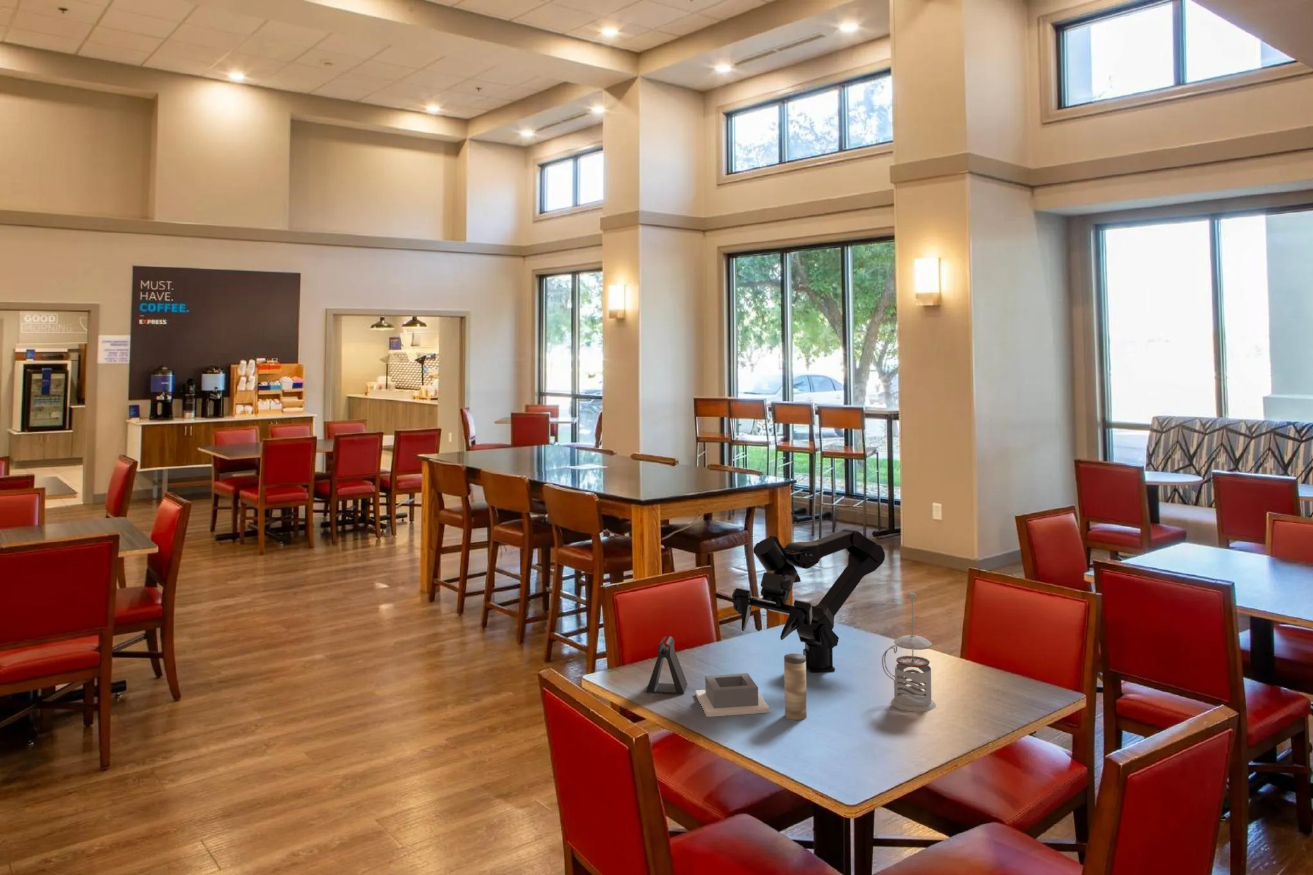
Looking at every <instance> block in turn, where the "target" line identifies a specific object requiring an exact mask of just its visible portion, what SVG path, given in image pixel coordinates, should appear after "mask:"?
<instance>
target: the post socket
mask: <svg viewBox="0 0 1313 875" xmlns="http://www.w3.org/2000/svg"><path fill="white" fill-rule="evenodd" d="M704 682H705V689H699V690H698V689H697V690H695V692H694V693H695V696H696V699H697V700H698V703H699V704H701V705H700V706H702V707H701V708H703V709H702V710H704V711H703V712H704V715H705V716H706V718H713V717H727V716H738V715H754V714H768V713H770V711H771V709H770V708H771V707H770V706H769V705H768V704H767V703H766V701H765V700H764V698H763V697H762V695H761V694H760V693H759V687H758V685H757V684H756V683H755V680H753V679H752V677H751V676H750V674H749V673H748V672H745V673H744V672H742V673H727V674H715V675H712V674H711V675H705V676H704ZM726 715H727V716H726Z"/></svg>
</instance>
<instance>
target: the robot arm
mask: <svg viewBox="0 0 1313 875" xmlns="http://www.w3.org/2000/svg"><path fill="white" fill-rule="evenodd" d="M843 550H845V551H846V552H847V553H848V556H847V557H848V558H847V565H846V567H845V568H844V569H843V571H841V573H840V575H839V576H838V577H837V579H836V580H835V581H834V582H833V584H832V585H831V587H830V588H829V589H828V591H827V592H826V593H825V595H824V596H823V597H822V599H821V600H820V601H819V603H818V604H816V605H812V604H811V602H808V601H803V600H798V599H795V600H794V601H793V605H790V604H787V602H788V601H789V600H790V594H791V591H792V590H793V589H792V588H793V585H794V584H797V583H801V577H800V575H799V573H798V571H797V569H796V568H801V569H806V570H807V569H808V570H809V569H810V568H813V567H814V566H816V565H817V564H818V563H819V562H820V560H821V559H822V558H824V557H827V556H829V555H833V554H835V553H838V552H840V551H843ZM752 551H753V554H754V555H755V557H756V558H757V559H758V561H759V562H760V564H761V566H762V567H763V568H764V569H765V570H766V571H765V572H763V574H762V578H761V580H760V581H761V582H760V587H761V590H760V595H761V596H762V598H761V597H757V596H753V595H752V590H749V589H744V588H739V587H736V588H735V589H733V592H732V595H731V597H732V598H731V599H732V605H733V610H734V611H736V612H737V613H738V614H739V615H741V631H742V632H744V631H746V628H747V625H748V622H749V621H750V620H749V619H750V617H751V611H752V608H753V607H756V608H761V609H764V610H768V611H771V612H774V613H780V614H784V615H788V617H787V619H786V622H785V624H784V626H783V627H782V631H781V634H780V641H783V640H784V639H785V638H786V637H788V636H789V635H790V634H791V633H792V632H794V631H796V632H797V635H798V638H799V641H800V642H801V643H804V648H803V649H802V653H803V654H802V655H804V656H806V670H808V671H809V672H810V673H817V672H818V673H819V672H833V671H836V667H834V665H833V664H834V661H833V654H834V653H833V649H834V647H837V646H838V644H839V643H838V642H839V641H840V640H839V639H840V637H839V636H838V635H837V634H836V633H835V632H834V631H833V629H834V628H835V616H836V615H837V613H838V612H839V611H840V609H841V608H842V607H843V605H844V604H845V602H846V601H847V600H848V598H849V597H850V596H851V595H852V593H853V592H854V590H855V589H856V588H857V586H858V585H859V583H861V581H862V580H863V578H864V577H865V576H867V575H869V574H871V573H873V572H875V571H876V570H878V569H879V567H881V565H882V564H884V562H885V560H886V559H885V558H886V557H885V556H886V554H885V553H886V552H885V550H884V548H883V546H882V545H881V544H878V543H876V542H875V541H874V540H871V539H869V538H868V537H866V536H864V535H863V534H862V533H861V532H860V531H858V530H855V529H849V528H848V529H847V528H844V529H841V530H840V531H838V532H835V533H833V534H829V535H827V536H824V537H820V538H818V539H815V540H812V541H795V542H789V543H787V544H786V545H785V547H783V546H782V543H780V540H779V538H778V537H777V535H769V536H768V537H766V538H765V539H761V540H760V541H759V542H757V543H755V545H754V546H753V549H752ZM795 567H796V568H795ZM767 571H769V572H767ZM771 571H772V572H771Z"/></svg>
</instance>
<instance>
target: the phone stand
mask: <svg viewBox="0 0 1313 875" xmlns="http://www.w3.org/2000/svg"><path fill="white" fill-rule="evenodd" d="M666 639H667V636H666V635H665V636H664V637H663V638H662V640H661V641H660V643H659V645H658V646H657V653H658V654H657V658H656V662H655V664H654V667H653V670H652V674H651V676H650V679H649V682H648V685H647V688H646V691H645V692H646V693H647V694H661V695H662V694H666V695H667V694H668V695H684V694H685V692H686V689H687V687H688V682H687V679H686V676H685V674H684V671H683V669H682V666H681V664H680V661H679V660H680V659H679V658H678V655H677V652H676V651H675V639H674V638H673V637H672V636H671V635H670V636H669V637H668V639H667V640H666ZM665 641H666V642H665ZM664 642H665V643H664ZM665 645H666V646H665ZM665 659H666V661H667V664H668V668H669V671H670V675H671V679H672V681H673V682H672V683H665V682H664V683H662V682H659V680H660V677H661V672H662V668H663V665H664V660H665Z"/></svg>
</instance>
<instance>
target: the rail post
mask: <svg viewBox="0 0 1313 875" xmlns="http://www.w3.org/2000/svg"><path fill="white" fill-rule="evenodd" d="M783 659H784V660H783V662H784V663H783V665H784V666H783V667H784V669H783V671H784V672H783V674H784V717H785V718H786V719H788V720H792V721H802V720H805V719H807V716H808V715H807V711H808V710H807V668H806V656H804V655H803V654H802V653H788V654H785V655H784V656H783Z"/></svg>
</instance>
